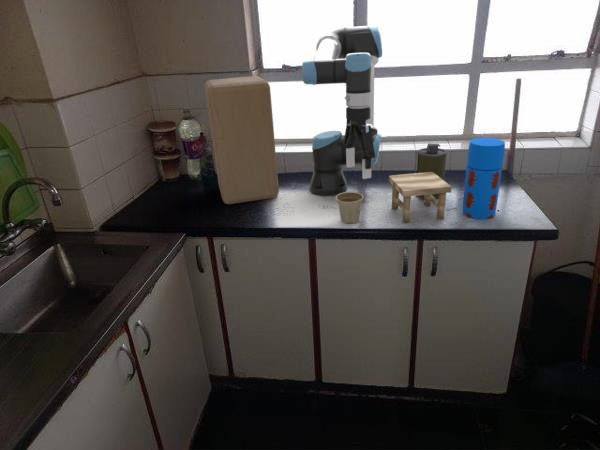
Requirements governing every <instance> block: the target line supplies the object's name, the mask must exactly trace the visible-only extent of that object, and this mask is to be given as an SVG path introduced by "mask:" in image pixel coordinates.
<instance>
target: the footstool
mask: <svg viewBox="0 0 600 450" xmlns="http://www.w3.org/2000/svg"><path fill="white" fill-rule="evenodd" d="M388 182H389V183H390V184H391V188H392V190H391V210H394V211H397V210H399V209H400V210H401V211H402V220H401V222H402V224H409V223H410V222H411V221H410V220H411V219H410V217H411V203H412V202H411V200H412V199H411V198H412V197H416V196H418V195H424V200H423V206H424V207H431V205H434V206H435V208H436V220H438V221H443V220H445V212H446V211H445V210H446V200H447V199H446V198H447V194H448V193H451V192H452V185H450V184H449V183H447V182H446V181H445V179H444V180H442V179H441V178H440V177H439V176H437V175H436V174H435V173H434V172H424V173H417V172H416V173H415V172H414V173H403V174H391V175H388ZM431 194H438V200H437V199H436V198H435V197H434V196H432V195H431ZM400 195H401V196H402V197H403V199H400Z"/></svg>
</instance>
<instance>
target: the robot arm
mask: <svg viewBox="0 0 600 450" xmlns="http://www.w3.org/2000/svg"><path fill="white" fill-rule="evenodd" d="M382 46H383V45H382V36H381V30H380V28H379V26H377V25H367V24H366V25H359V26H342V27H341V26H340V27H336V28H333V29H331V30H329V31H327V32H326V33H324V34H323V35H322V36H321V37H320V38H319V39H318V41H317V43H316V46H315V48H316V51H315V55H314V57H313V59H308V60H304V61H303V62H302V66H301V76H302V77H301V78H302V83H304V84H305V85H313V86H316V85H331V84H345V96H344V100H345V105H346V108H345V119H346V126H345V131H344V134H343V133H342V132H341V130H328V131H324V132H320V133H318V134H316V135H314V137H312V147H311V149H312V150H311V151H312V163H313V164H312V165H313V169H312V170H313V172H312V173H313V174H312V176H311V180H310V183H309V190H310V192H311V193H312V194H315V195H318V196H337V195H338V194H341V193H345V192H347V189H348V184H347V180H346V177H345V174H344V172H343V166H346V168H355V167H356V166H362V168H361V169H362V170H361V173H362V174H361V175H362V176H361V177H362V179H363V180H367V179H372V166H373V165H375V164H377V163H378V160H379V154H380V147H381V140H382V135H381V134H380V133H378V129H377V128H376V127H375V126H374V120H375V119H374V118H375V66H376V65H377V64H378V63H379V59H380V58H382V57H383V47H382Z"/></svg>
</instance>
